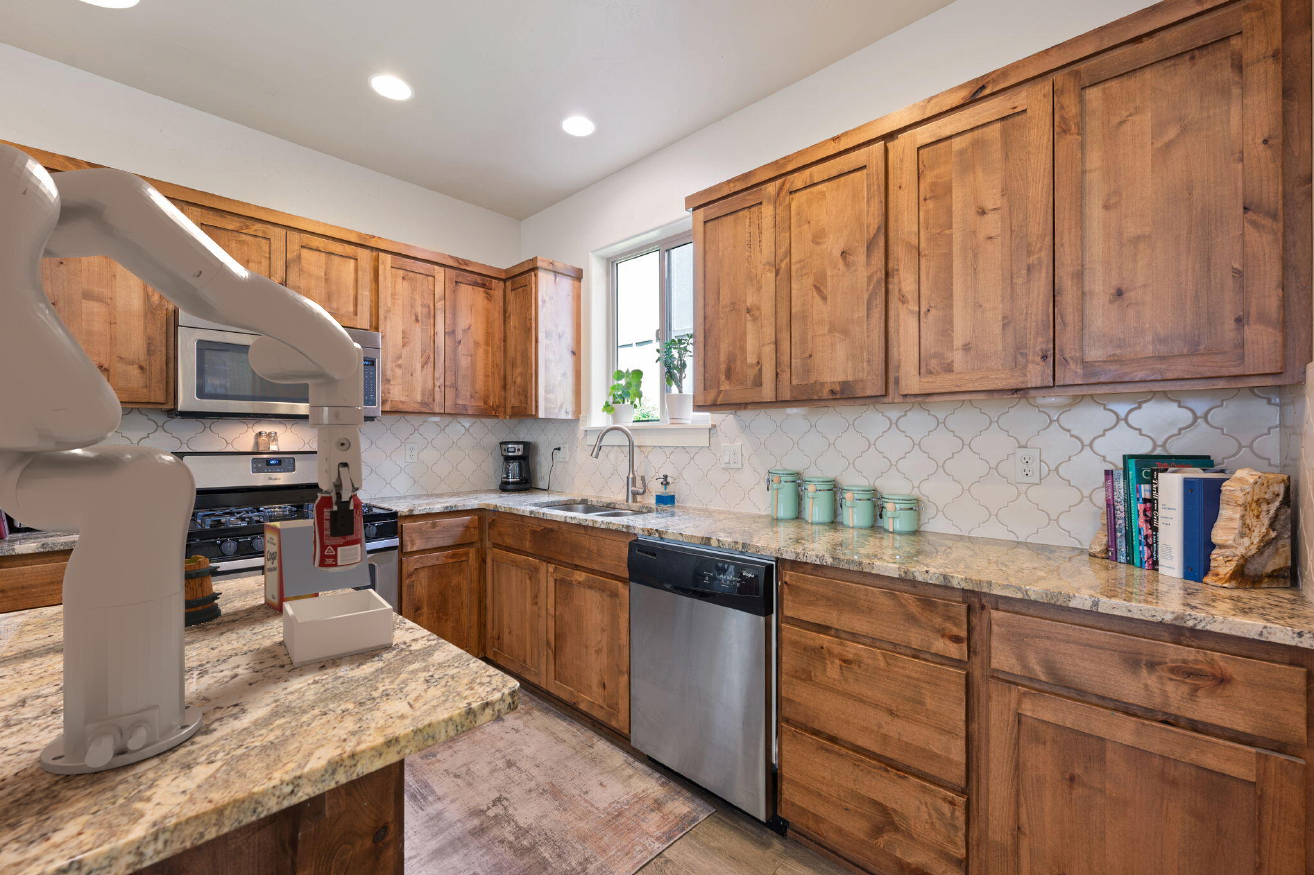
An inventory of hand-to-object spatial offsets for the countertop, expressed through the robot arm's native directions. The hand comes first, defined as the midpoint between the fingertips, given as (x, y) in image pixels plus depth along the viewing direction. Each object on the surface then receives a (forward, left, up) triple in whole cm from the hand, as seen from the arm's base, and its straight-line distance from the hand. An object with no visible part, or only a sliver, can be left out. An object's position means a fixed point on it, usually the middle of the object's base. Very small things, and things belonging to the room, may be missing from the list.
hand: (337, 531), depth 90 cm
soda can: (0, 0, -6) cm, 6 cm away
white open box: (0, 0, -18) cm, 18 cm away
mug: (+29, +20, -18) cm, 40 cm away
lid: (+10, 0, -5) cm, 11 cm away
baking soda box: (+29, +3, -18) cm, 34 cm away
